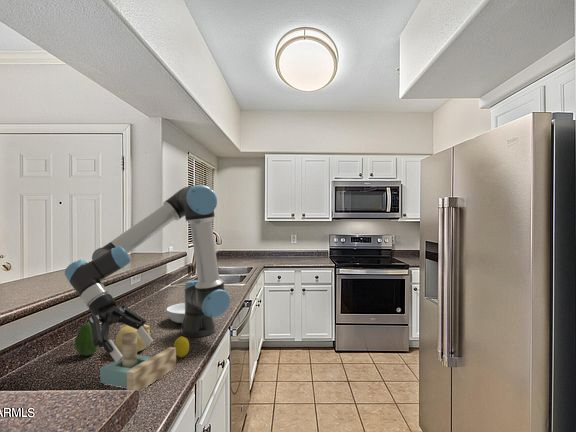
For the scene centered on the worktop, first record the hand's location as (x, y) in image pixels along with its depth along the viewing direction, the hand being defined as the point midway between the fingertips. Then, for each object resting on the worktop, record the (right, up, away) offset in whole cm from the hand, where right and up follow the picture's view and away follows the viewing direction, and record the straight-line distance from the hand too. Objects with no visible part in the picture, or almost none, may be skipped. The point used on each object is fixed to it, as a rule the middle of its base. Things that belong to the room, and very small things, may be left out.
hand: (136, 351), depth 113 cm
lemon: (+9, -9, +17) cm, 21 cm away
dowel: (-2, -9, +1) cm, 9 cm away
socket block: (-2, -9, +1) cm, 9 cm away
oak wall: (+6, -9, -1) cm, 11 cm away
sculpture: (-12, -9, +24) cm, 28 cm away
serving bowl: (0, -9, +61) cm, 62 cm away
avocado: (-27, -9, +19) cm, 34 cm away
